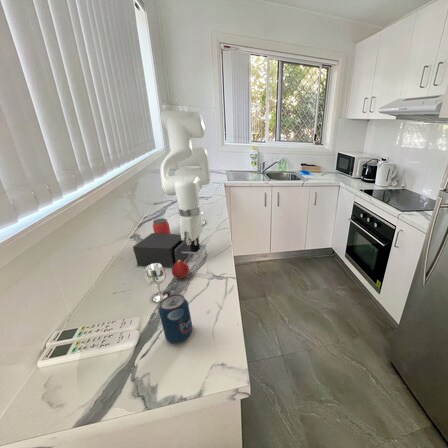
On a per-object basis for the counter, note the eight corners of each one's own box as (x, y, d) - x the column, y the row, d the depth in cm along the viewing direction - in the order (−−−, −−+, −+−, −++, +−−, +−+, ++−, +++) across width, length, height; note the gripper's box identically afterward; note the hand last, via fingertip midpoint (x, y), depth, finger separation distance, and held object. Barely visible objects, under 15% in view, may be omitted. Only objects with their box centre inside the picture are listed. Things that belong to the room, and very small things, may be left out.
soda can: (190, 343, 66) (183, 309, 61) (162, 347, 64) (153, 312, 60) (195, 324, 72) (189, 291, 67) (169, 327, 70) (162, 294, 66)
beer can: (166, 247, 113) (161, 224, 108) (153, 246, 114) (148, 222, 109) (175, 241, 119) (171, 218, 114) (163, 240, 120) (158, 217, 115)
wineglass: (157, 305, 78) (149, 274, 74) (147, 298, 81) (139, 268, 77) (173, 295, 83) (167, 265, 78) (163, 289, 86) (157, 260, 81)
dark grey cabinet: (188, 252, 110) (185, 234, 107) (173, 267, 98) (169, 248, 95) (156, 250, 110) (152, 233, 107) (137, 265, 99) (132, 246, 95)
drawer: (208, 251, 109) (207, 238, 106) (198, 266, 98) (195, 251, 96) (162, 249, 109) (159, 235, 107) (146, 263, 99) (142, 248, 96)
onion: (173, 284, 89) (169, 265, 85) (173, 275, 93) (169, 258, 90) (191, 280, 91) (187, 262, 88) (189, 272, 96) (186, 254, 93)
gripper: (188, 204, 102) (194, 243, 109) (170, 217, 89) (178, 261, 96) (206, 205, 102) (211, 244, 109) (190, 218, 88) (197, 261, 95)
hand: (195, 252), depth 102 cm, fingers closed
